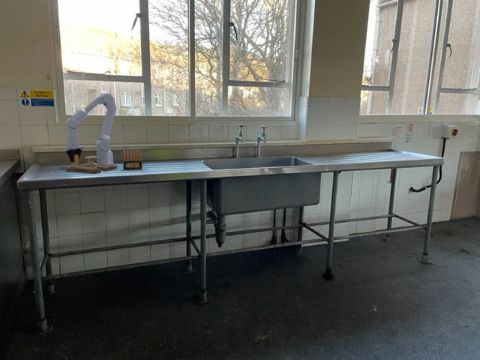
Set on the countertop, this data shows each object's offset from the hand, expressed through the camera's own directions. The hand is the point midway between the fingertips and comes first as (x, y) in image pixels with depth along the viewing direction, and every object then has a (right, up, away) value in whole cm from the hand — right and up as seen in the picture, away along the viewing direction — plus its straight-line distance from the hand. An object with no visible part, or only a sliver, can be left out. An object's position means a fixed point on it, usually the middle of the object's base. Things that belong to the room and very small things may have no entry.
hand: (74, 161), depth 213 cm
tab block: (0, -2, 0) cm, 2 cm away
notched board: (+14, -5, -8) cm, 17 cm away
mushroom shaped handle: (+12, -2, -5) cm, 13 cm away
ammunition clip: (+36, -5, -3) cm, 36 cm away
